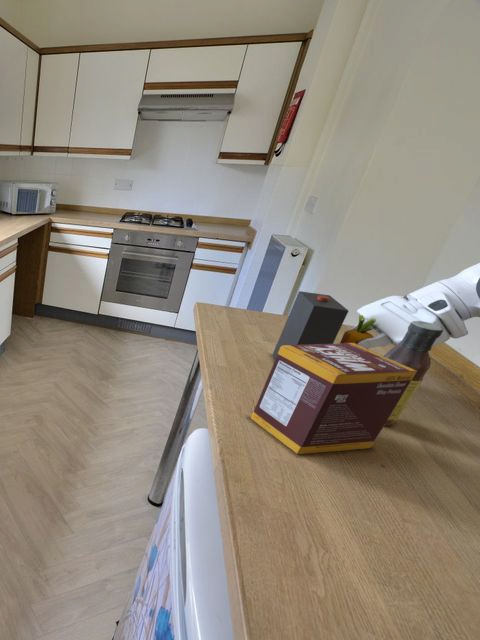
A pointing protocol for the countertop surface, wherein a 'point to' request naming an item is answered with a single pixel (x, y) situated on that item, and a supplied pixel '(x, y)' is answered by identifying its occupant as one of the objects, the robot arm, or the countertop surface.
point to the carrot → (358, 331)
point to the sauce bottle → (413, 358)
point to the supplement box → (330, 396)
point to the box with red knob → (312, 321)
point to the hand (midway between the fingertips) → (352, 341)
